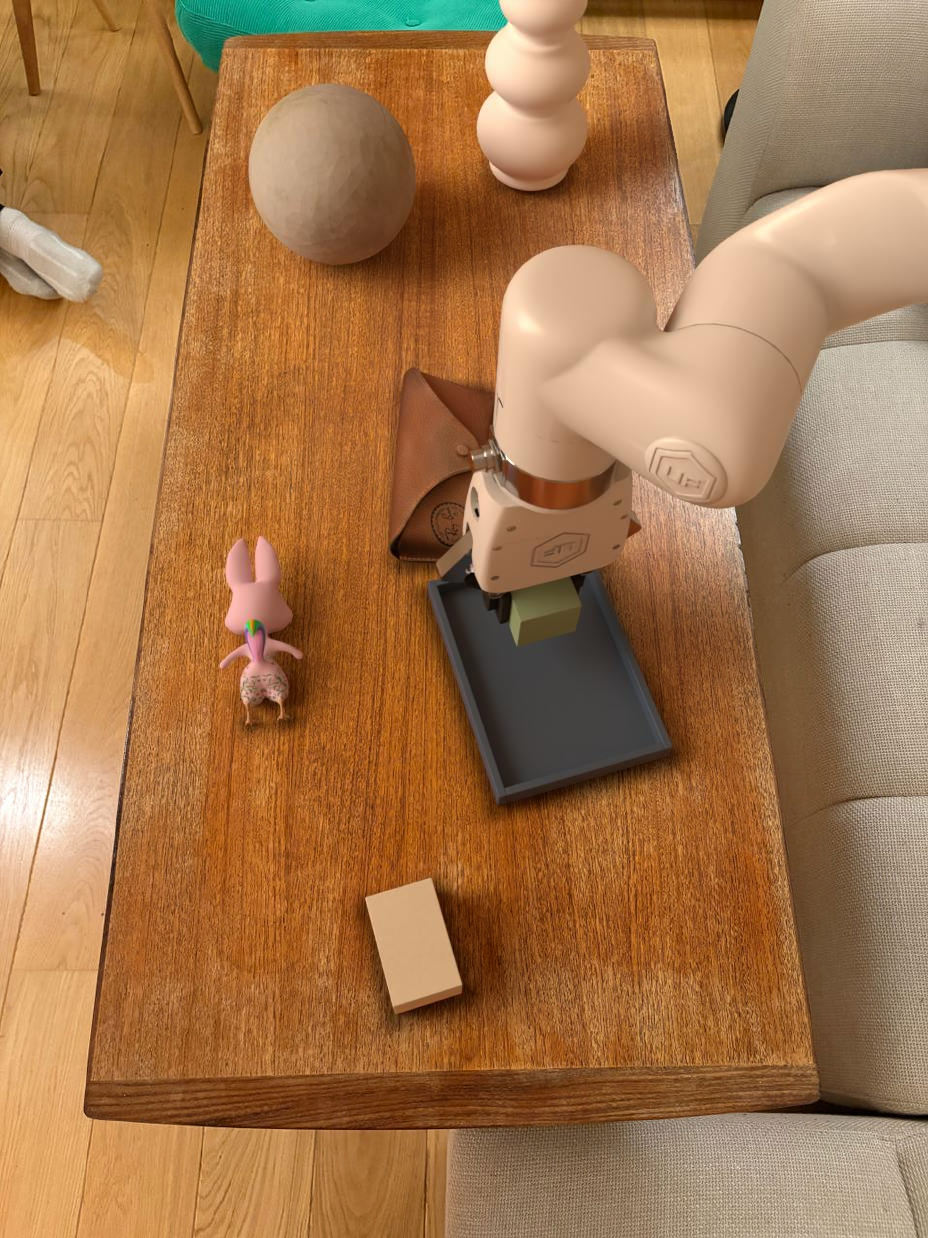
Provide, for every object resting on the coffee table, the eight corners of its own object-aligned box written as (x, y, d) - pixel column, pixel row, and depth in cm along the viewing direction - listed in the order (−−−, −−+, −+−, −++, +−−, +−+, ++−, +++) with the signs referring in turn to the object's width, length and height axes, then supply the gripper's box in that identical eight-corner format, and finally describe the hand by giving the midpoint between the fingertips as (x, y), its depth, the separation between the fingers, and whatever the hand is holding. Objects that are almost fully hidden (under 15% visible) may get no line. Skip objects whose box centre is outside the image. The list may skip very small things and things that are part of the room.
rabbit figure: (312, 721, 77) (293, 540, 81) (304, 703, 71) (284, 509, 75) (229, 733, 76) (215, 550, 81) (214, 715, 70) (199, 519, 75)
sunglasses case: (495, 561, 81) (453, 521, 76) (421, 581, 84) (376, 543, 79) (498, 387, 89) (460, 340, 84) (430, 411, 93) (390, 367, 87)
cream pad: (432, 890, 70) (431, 877, 66) (461, 993, 66) (462, 985, 63) (369, 909, 69) (364, 897, 65) (395, 1014, 66) (393, 1007, 62)
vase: (594, 196, 102) (636, -68, 79) (489, 212, 100) (502, -51, 78) (565, 126, 106) (596, -141, 84) (464, 140, 105) (469, -127, 83)
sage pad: (544, 552, 76) (549, 523, 73) (575, 631, 73) (582, 605, 70) (487, 566, 76) (489, 538, 72) (516, 647, 73) (520, 621, 69)
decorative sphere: (267, 190, 101) (239, 46, 88) (416, 187, 102) (411, 44, 88) (259, 300, 94) (228, 162, 81) (419, 298, 95) (414, 160, 82)
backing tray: (583, 553, 82) (586, 540, 80) (667, 756, 74) (673, 747, 73) (428, 593, 80) (427, 581, 79) (497, 806, 72) (498, 797, 71)
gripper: (433, 534, 55) (435, 671, 71) (717, 464, 58) (656, 612, 74) (397, 429, 58) (406, 583, 75) (667, 367, 61) (619, 529, 77)
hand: (531, 596), depth 74 cm, fingers closed on sage pad, 4 cm apart
